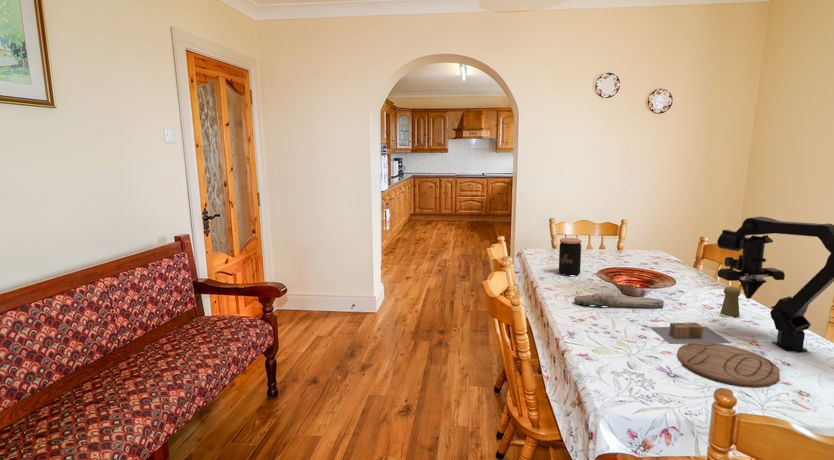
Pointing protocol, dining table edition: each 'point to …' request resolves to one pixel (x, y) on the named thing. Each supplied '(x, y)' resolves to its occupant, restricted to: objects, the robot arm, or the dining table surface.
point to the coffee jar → (570, 256)
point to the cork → (731, 302)
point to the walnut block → (686, 330)
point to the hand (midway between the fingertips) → (747, 298)
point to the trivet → (728, 364)
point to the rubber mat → (708, 337)
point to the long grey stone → (618, 301)
